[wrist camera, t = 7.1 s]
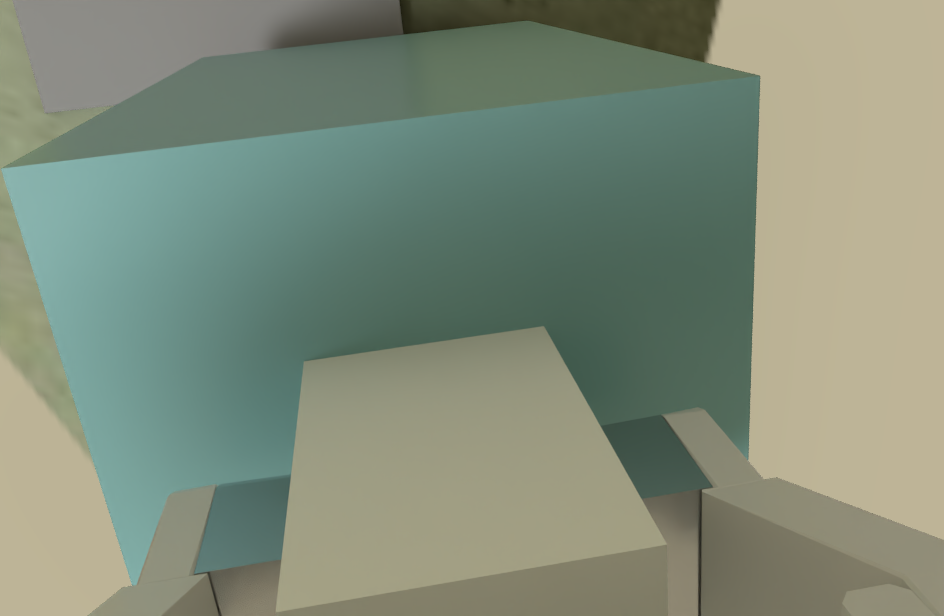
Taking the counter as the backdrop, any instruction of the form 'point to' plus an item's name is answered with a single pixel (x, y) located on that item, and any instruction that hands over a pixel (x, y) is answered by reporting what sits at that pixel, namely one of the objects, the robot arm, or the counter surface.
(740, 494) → the robot arm
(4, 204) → the counter surface
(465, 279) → the cover
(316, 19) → the mat
